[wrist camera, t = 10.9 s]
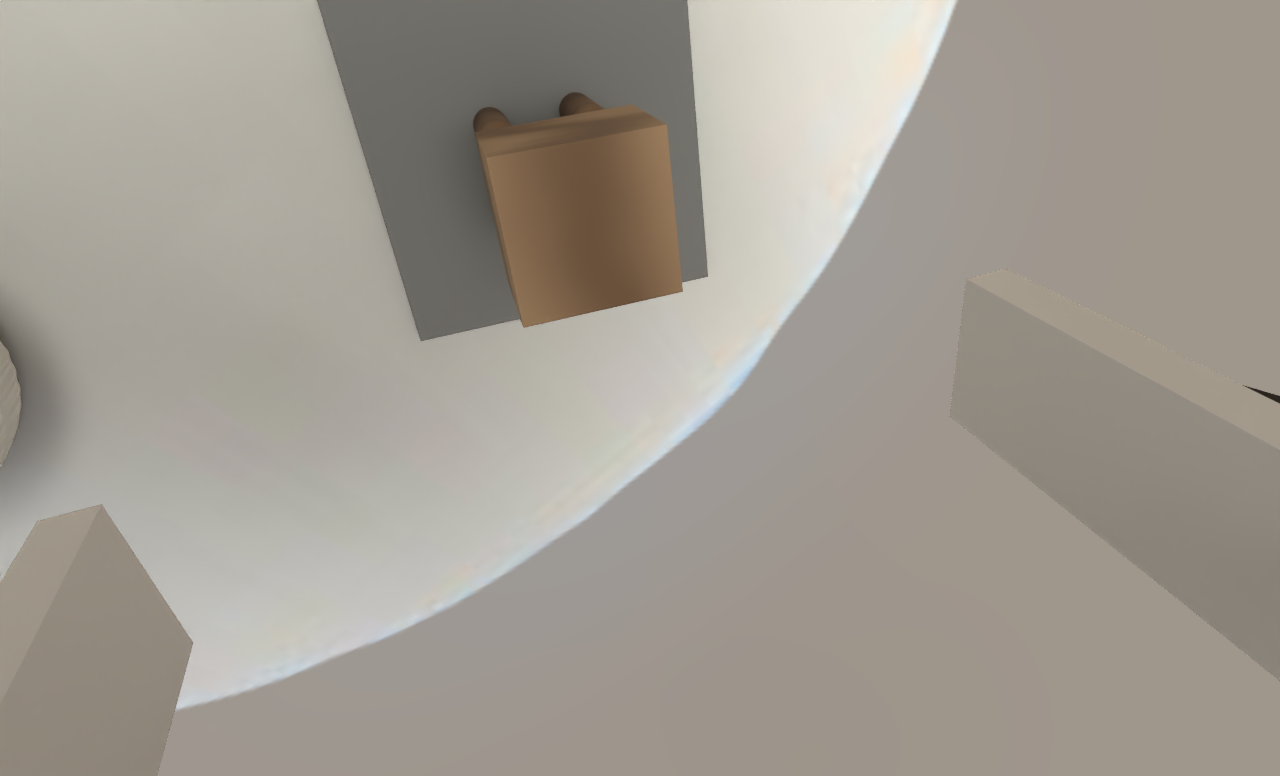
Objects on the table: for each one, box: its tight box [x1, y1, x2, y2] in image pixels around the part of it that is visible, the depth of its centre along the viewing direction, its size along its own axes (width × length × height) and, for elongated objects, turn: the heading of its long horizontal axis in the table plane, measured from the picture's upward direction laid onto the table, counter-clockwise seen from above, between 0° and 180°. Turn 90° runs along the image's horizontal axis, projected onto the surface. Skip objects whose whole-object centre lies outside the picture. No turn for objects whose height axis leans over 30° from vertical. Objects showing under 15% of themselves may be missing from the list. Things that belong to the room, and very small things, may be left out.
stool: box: [473, 92, 683, 327], centre depth 28 cm, size 6×6×10 cm
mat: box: [317, 0, 708, 341], centre depth 32 cm, size 14×14×1 cm
